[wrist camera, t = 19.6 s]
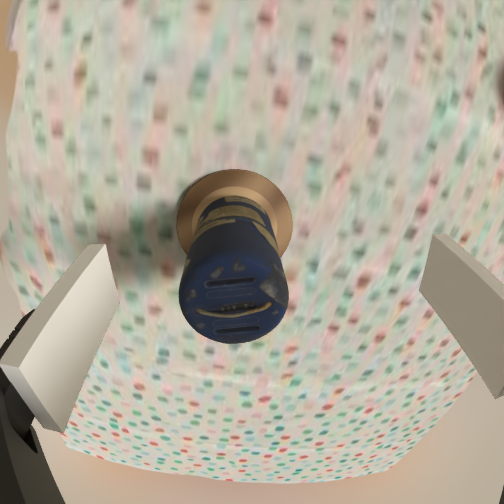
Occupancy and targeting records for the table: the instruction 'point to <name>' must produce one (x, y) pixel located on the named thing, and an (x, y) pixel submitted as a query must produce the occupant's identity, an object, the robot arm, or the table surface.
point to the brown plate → (241, 186)
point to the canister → (233, 273)
